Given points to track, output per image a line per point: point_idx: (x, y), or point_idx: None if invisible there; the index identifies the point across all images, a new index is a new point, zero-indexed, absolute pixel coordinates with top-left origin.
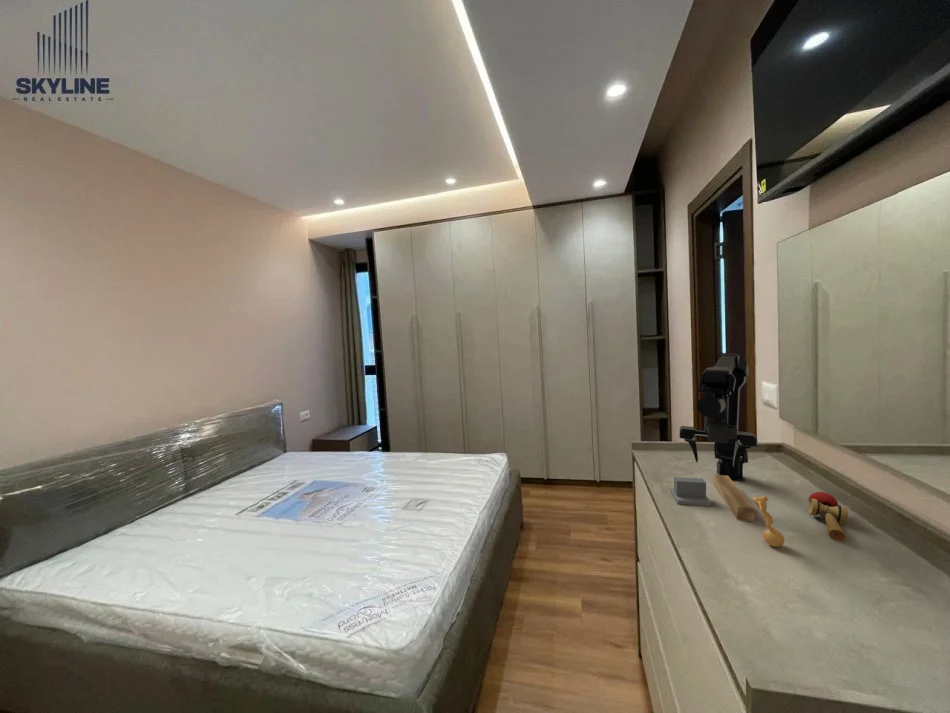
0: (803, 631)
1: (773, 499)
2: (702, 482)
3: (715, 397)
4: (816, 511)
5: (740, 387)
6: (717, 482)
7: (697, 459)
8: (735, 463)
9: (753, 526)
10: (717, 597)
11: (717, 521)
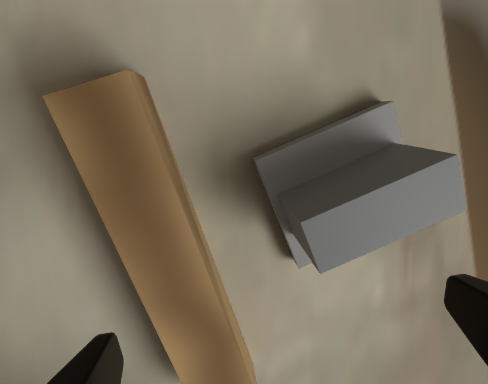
0: None
1: (39, 357)
2: (319, 216)
3: None
4: None
5: None
6: (241, 350)
7: (480, 289)
8: (73, 369)
9: (72, 38)
10: None
11: (218, 3)
